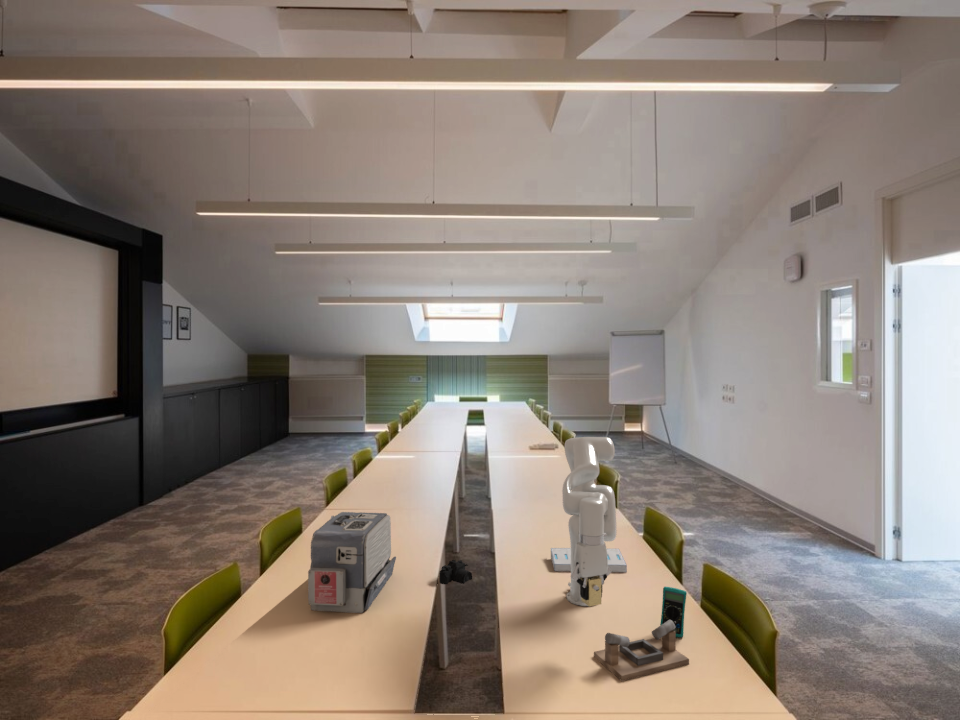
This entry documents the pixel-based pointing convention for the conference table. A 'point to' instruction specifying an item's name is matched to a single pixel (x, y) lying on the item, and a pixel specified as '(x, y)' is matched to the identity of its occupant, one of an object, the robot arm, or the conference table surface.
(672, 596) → the digital multimeter
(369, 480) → the conference table surface
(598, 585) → the block
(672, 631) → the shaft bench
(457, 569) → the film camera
